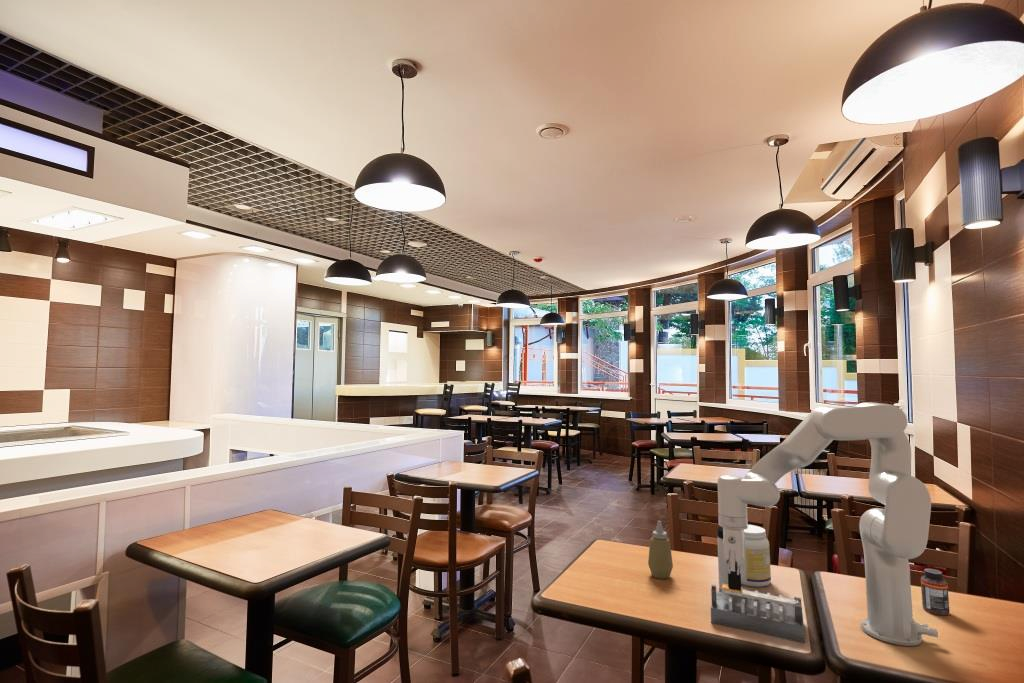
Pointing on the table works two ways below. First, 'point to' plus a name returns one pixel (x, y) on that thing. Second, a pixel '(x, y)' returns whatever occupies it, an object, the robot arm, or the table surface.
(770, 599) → the white orange stick
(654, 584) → the table surface
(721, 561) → the travel mug
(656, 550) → the squeeze bottle
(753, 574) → the supplement tub
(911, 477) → the robot arm
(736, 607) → the heatsink block
